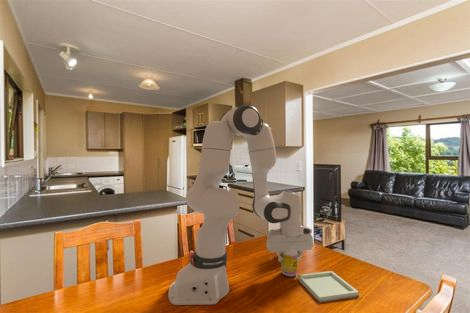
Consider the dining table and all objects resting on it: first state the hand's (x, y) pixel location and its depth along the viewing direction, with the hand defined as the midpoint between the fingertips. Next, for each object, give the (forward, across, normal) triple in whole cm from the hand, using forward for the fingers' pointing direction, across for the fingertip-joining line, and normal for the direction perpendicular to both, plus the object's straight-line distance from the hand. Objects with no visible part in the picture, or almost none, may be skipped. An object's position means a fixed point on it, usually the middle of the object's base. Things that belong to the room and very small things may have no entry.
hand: (289, 260), depth 105 cm
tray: (+6, +10, -12) cm, 17 cm away
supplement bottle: (+6, 0, 0) cm, 6 cm away
